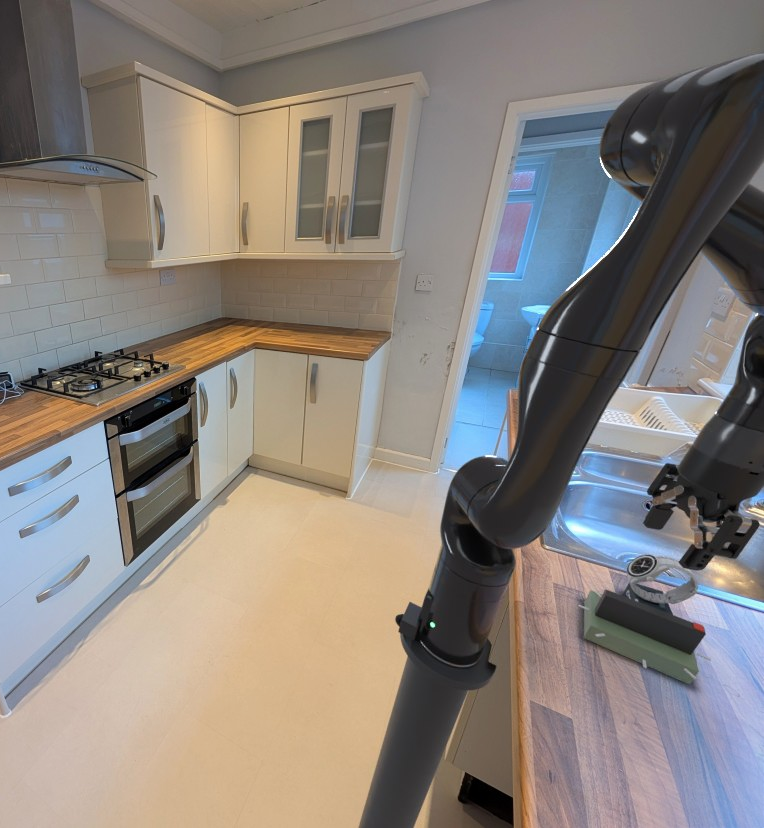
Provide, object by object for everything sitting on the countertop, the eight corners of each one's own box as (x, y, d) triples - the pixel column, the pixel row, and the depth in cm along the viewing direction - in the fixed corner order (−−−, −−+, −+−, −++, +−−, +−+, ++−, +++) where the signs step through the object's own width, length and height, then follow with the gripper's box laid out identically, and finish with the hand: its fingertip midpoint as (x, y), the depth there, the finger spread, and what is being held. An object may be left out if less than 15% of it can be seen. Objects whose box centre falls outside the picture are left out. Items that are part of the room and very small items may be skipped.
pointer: (594, 615, 68) (606, 594, 66) (594, 608, 70) (605, 587, 68) (691, 655, 62) (707, 633, 60) (689, 647, 63) (704, 625, 61)
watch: (608, 589, 77) (633, 542, 72) (668, 608, 73) (698, 560, 69) (615, 612, 73) (642, 563, 68) (679, 633, 69) (713, 583, 64)
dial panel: (570, 651, 66) (577, 637, 65) (572, 590, 77) (579, 577, 76) (711, 715, 57) (723, 701, 56) (691, 637, 68) (701, 623, 67)
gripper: (665, 424, 62) (613, 511, 69) (741, 477, 50) (669, 576, 57) (728, 433, 60) (668, 521, 68) (824, 490, 48) (738, 590, 55)
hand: (668, 546), depth 62 cm, fingers open, 8 cm apart
